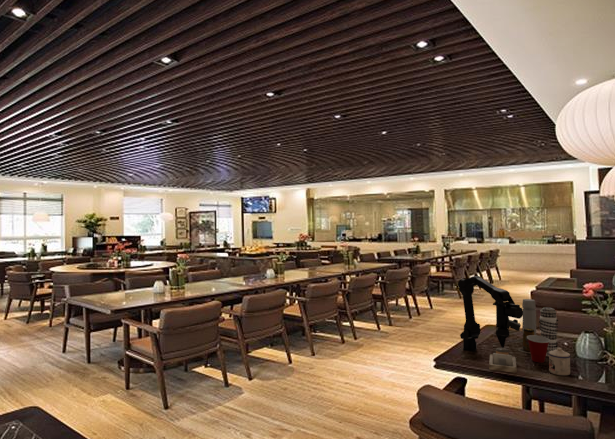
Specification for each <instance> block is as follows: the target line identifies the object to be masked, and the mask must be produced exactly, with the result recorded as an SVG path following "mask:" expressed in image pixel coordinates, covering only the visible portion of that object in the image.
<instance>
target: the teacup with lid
mask: <svg viewBox="0 0 615 439" xmlns="http://www.w3.org/2000/svg"><path fill="white" fill-rule="evenodd" d="M548 354H549V356H548V361H549V362H548V365H549V366H548V367H549V368H548V371H549V373H551V374H553V375H557V376H569V375H571V354H570V353H569V352H566V351H564V350H563V349H562V347H557V350H554V351H550V352H549V353H548Z"/></svg>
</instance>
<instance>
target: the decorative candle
mask: <svg viewBox="0 0 615 439" xmlns="http://www.w3.org/2000/svg"><path fill="white" fill-rule="evenodd" d="M539 312H540V316H539V318H538V323H539V329H538V330H539V333H540V336H543V337H546V338H548V339H550V342H549V344H548V347H547V353H546V357H549V354H548V353H549V352H550V351H554V350H557V348H559V345H558V339H557V338H558V337H557V335H558V328H559V326H558V325H559V323H558V321H559V320H558V317H557V312H558V311H557V310H556V309H555V308H554V307H547V306H546V307H543V308H541V309H540V310H539Z"/></svg>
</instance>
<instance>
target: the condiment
mask: <svg viewBox="0 0 615 439" xmlns="http://www.w3.org/2000/svg"><path fill="white" fill-rule="evenodd" d="M529 335H534V330H533V329H530V328H525V329H524V333H523V332H522V348H520V349H518V351H519V352H522V353H526V354H531V353H530V348H529V343H528V339H527V336H529Z"/></svg>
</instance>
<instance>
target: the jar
mask: <svg viewBox="0 0 615 439" xmlns="http://www.w3.org/2000/svg"><path fill="white" fill-rule="evenodd" d="M509 352H510V349H508V348H505V347H504V348H502V347H497V348H496V347H495V353H496V354H505V355H510V353H509Z"/></svg>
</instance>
